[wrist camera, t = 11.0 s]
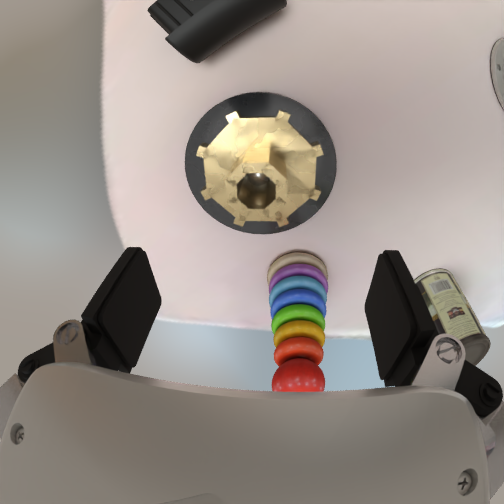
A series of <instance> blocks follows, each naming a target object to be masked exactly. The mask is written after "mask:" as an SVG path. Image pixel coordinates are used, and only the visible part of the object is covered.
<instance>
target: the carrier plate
mask: <svg viewBox="0 0 504 504" xmlns="http://www.w3.org/2000/svg"><path fill="white" fill-rule="evenodd" d="M279 109H280V110H283V111H285V112H288V113H290V117H289V120H288V122H289V123H290V124H291V125H292V126H293V127H294V128H295V129H297V130H298V131H299V132H300V133H301V134H302V135H303V136H304V137H305V138H306V139H307V140H308V141H309V143H310V144H311V143H314V142H317V141H318V142H319V144H320V146H321V149H322V151H323V154H324V155H321V156H318V157H316V174H315V185H317V186H319V187H320V190H321V194H320V195H319V197H318V199H317V201H316V200H314V199H311V198H309V199H308V200H307V201H306V202H305V203H303V204H302V205H301V206H300V207H299V208H297V209H296V210H295V211H294V212H293V213H292V214H290V215H289V216H288V217H289V224H287V225H284V226H281V227H279V225H278V223H277V221H245V223H244V225H243V227H242V226H239V225H237V224H234V219H235V217H234V216H233V215H232V214H231V213H230V212H228V211H227V210H226V209H225V208H224V207H222V206H221V205H220V204H219V203H218V202H216V201H215V200H214V199H213V198H210V199H207V200H205V199H204V197H203V195H202V194H201V190H202V188H203V187H204V186H206V178H205V169H204V159H203V158H202V157H199V156H196V155H197V151H198V148H199V145H201V144H202V143H207V144H211V142H212V141H213V140H214V139H215V138H216V137H217V136H218V135H219V134H220V132H221V131H222V130H223V129H224V128H225V127H226V126H227V125H228V124H229V122H228V120H227V118H226V115H228V114H230V113H232V112H234V111H237V110H239V112H240V114H241V116H276V115H277V113H278V111H279ZM185 171H186V176H187V181H188V183H189V186H190V189H191V191H192V193H193V195H194V197H195V198H196V200H197V201H198V203H199V204H200V205H201V206H202V208H203V209H204V210H205V211H206V212H207V213H208V214H209V215H211V216H212V217H213V218H214V219H216V220H217V221H219V222H220V223H222V224H224V225H226V226H228V227H230V228H233V229H235V230H238V231H242V232H246V233H252V234H272V233H279V232H283V231H286V230H289V229H292V228H294V227H297V226H298V225H300V224H302V223H304V222H305V221H307V220H308V219H309V218H311V217H312V216H313V215H314V214H315V213H316V212H317V211H318V210H319V209H320V208H321V207H322V206H323V204H324V203H325V201H326V200H327V198H328V197H329V194H330V192H331V190H332V188H333V184H334V181H335V176H336V154H335V149H334V146H333V142H332V140H331V138H330V135H329V133H328V131H327V130H326V128H325V127H324V125H323V124H322V122H321V121H320V120H319V119H318V118H317V117H316V116H315V115H314V114H313V113H312V112H311V111H310V110H309V109H307V108H306V107H305V106H303V105H302V104H300V103H299V102H297V101H295V100H293V99H290V98H288V97H285V96H282V95H279V94H274V93H266V92H254V93H246V94H241V95H237V96H234V97H232V98H229V99H227V100H225V101H223V102H221V103H219V104H217V105H216V106H214V107H213V108H212V109H210V110H209V111H208V112H207V113H206V114H205V115H204V116H203V117H202V118H201V119H200V121H199V122H198V123H197V125H196V126H195V128H194V130H193V131H192V133H191V135H190V138H189V141H188V143H187V148H186V153H185ZM246 175H247V176H248V179H249V181H250V182H251V183H252V184H253V185H256V186H261V185H264V184H265V183H266V182H268V181H269V180H270V178H269V177H268V176H267V175H265V174H264V173H247V174H246Z"/></svg>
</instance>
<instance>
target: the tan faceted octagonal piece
mask: <svg viewBox="0 0 504 504" xmlns="http://www.w3.org/2000/svg"><path fill="white" fill-rule="evenodd" d="M289 117H290V113H288V112H285V111H283V110H280V109H279V111H278V113H277V115H276V116H241V114H240V112H239V110H237V111H234V112H232V113H230V114H228V115H226V118H227V120H228V122H229V124H228V125H227V126H226V127H225V128H224V129H223V130H222V131H221V132H220V134H219V135H218V136H217V137H216V138H215V139H214V140H213V141H212V142H211V144H207V143H202V144H201V145H199V148H198V151H197V155H196V156H199V157H202V158H203V159H204V169H205V178H206V186H204V187H203V188H202V190H201V194H202V195H203V197H204V199H205V200H207V199H210V198H213V199H214V200H215V201H216V202H218V203H219V204H220V205H221V206H222V207H224V208H225V209H226V210H227V211H228V212H230V213H231V214H232V215H233V216H234V217H235V219H234V224H237V225H239V226H242V227H243V225H244V223H245V221H277V223H278V225H279V227H281V226H284V225H287V224H289V217H288V216H289V215H290V214H292V213H293V212H294V211H295V210H296V209H297V208H299V207H300V206H301V205H302V204H303V203H305V202H306V201H307V200H308V199H309V198H311V199H314V200H316V201H317V199H318V197H319V195H320V194H321V190H320V187H319V186H317V185H315V174H316V157H318V156H321V155H324V154H323V151H322V149H321V146H320V144H319V142H318V141H317V142H314V143H311V144H310V143H309V141H308V140H307V139H306V138H305V137H304V136H303V135H302V134H301V133H300V132H299V131H298V130H297V129H295V128H294V127H293V126H292V125H291V124H290V123H289V122H288V120H289ZM247 173H264V174H265V175H267V176H268V177H269V178H270V180H269V181H268V182H266V183H265V184H264V185H261V186H256V185H253V184H252V183H251V182H250V181H249V179H248V176H247V175H246V174H247Z"/></svg>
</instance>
